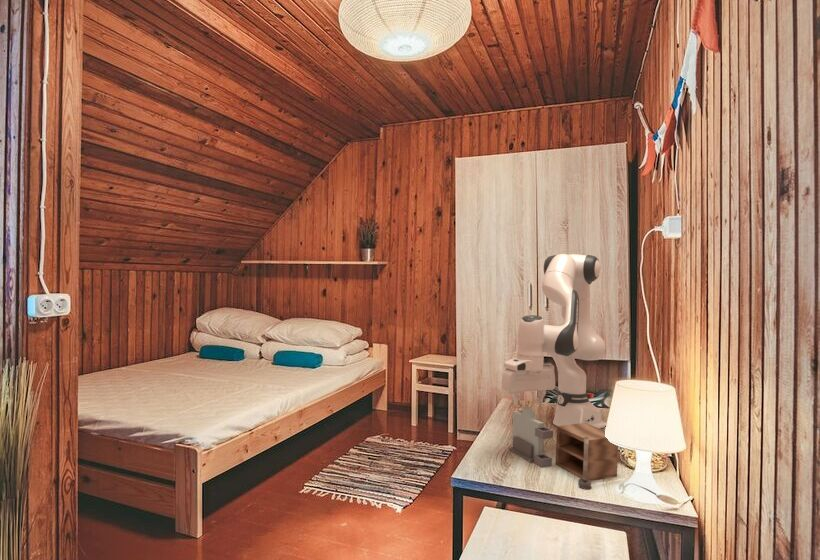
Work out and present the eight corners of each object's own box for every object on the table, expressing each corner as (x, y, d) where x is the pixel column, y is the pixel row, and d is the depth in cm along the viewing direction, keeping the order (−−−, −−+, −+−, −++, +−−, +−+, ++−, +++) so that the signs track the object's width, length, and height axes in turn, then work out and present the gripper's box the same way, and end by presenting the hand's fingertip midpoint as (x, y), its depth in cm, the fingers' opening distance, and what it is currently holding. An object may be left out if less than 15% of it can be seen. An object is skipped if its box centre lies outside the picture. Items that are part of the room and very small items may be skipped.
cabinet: (583, 461, 165) (585, 416, 164) (625, 482, 149) (627, 433, 148) (545, 467, 158) (547, 421, 158) (584, 490, 142) (586, 438, 142)
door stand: (522, 449, 174) (523, 433, 174) (545, 461, 163) (545, 445, 163) (508, 451, 171) (509, 435, 171) (530, 464, 160) (531, 447, 160)
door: (518, 447, 174) (520, 402, 174) (551, 465, 158) (553, 416, 158) (509, 448, 173) (511, 403, 173) (541, 467, 157) (543, 417, 157)
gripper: (548, 360, 174) (546, 399, 174) (499, 362, 165) (498, 403, 166) (560, 364, 168) (558, 404, 168) (510, 366, 160) (509, 408, 160)
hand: (528, 403), depth 167 cm, fingers open, 8 cm apart
